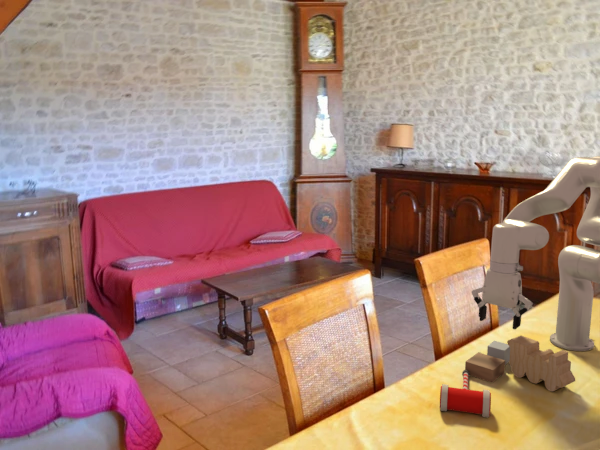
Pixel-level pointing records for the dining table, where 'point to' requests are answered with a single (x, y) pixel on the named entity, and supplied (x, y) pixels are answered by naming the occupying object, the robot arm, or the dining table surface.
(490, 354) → the slate brick
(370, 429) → the dining table surface
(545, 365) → the toy train
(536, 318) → the dining table surface
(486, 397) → the toy hammer
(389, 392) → the dining table surface
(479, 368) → the walnut block
